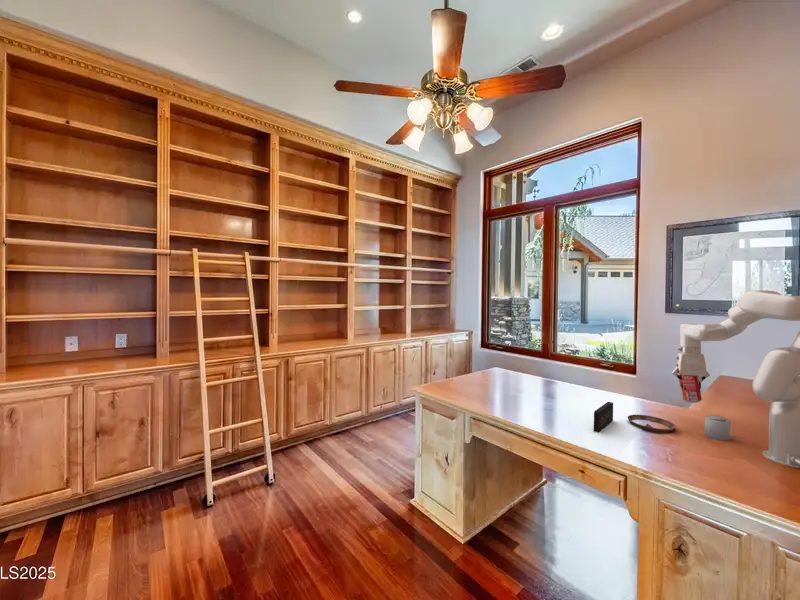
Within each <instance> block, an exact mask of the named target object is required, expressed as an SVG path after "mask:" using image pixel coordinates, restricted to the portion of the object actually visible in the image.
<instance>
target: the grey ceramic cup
mask: <svg viewBox="0 0 800 600" xmlns="http://www.w3.org/2000/svg"><path fill="white" fill-rule="evenodd" d="M731 426H732V421H731V420H730V419H728V418H726V417H724V416H720V415H712V414H711V415H705V416H704V436H705V437H706V436H707V438H709V439H712V440H716V441H717V440H718V441H724V442H728V441H729V442H730V441H731V434H732V433H731V431H732V427H731Z"/></svg>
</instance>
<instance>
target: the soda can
mask: <svg viewBox="0 0 800 600" xmlns="http://www.w3.org/2000/svg"><path fill="white" fill-rule="evenodd" d="M678 375H680V376H681V377H683V381H681V380H679V379H678V382H679V387H680V395H681V399H682V400H683V401H684V402H685V403H691V404H693V403H694V404H696V403H700V402H702V400H703V398H702V392H701V389H700V388H699V379H698V376H688V375H684V376H683V375H682V374H680V373H678ZM682 383H683V388H681V386H682V385H681V384H682ZM680 385H681V386H680ZM684 388H686V390H684Z"/></svg>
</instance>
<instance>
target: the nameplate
mask: <svg viewBox="0 0 800 600" xmlns="http://www.w3.org/2000/svg"><path fill="white" fill-rule="evenodd" d="M613 421H614V403H613V402H611V401H607V402H605V403H604V404H602V405H601V406H600V407H598V408H597V409H595V410H594V412H593V432H595V433H600V432H601V431H602V430H603V429H605V428H606V427H608V426H609V425H610V424H612V423H613Z"/></svg>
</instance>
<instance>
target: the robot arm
mask: <svg viewBox="0 0 800 600" xmlns="http://www.w3.org/2000/svg"><path fill="white" fill-rule="evenodd" d="M727 316H728V317H729V318H727V319H726V320H723V321H722V322H719V323H706V324H705V323H703V324H702V323H700V324H698V323H681V324H680V325H679V346H678V347H677V346H676V351H678V353H677V357H676V362H675V363H676V364H675V368H674V369H673V371H672V372H671V374H672V375H673V376H675V377H676V378H677V379H678V381H679V380H681V381H683V377H681V376H680V375H679V373H680V374H682V375H683V376H684V375H688V376H698V379H699V388H700V390H702V383H703V381H704V380H705V379H707V378H709V377H710V373H709V372H708V371H707V366H706V365H707V364H706V359H705V355H704V353H702V342H721V341H726V340H728V339H732V338H733V337H735V336H738V335H739V334H742V333H743V332H744V331H745V330H746V329H747V328H748V326H750V325H752V324H754V323H756V322H759V321H760V320H763V319H765V318H771V319H775V320H776V319H777V320H782V321H788V322H791V321H792V322H796V321H797V322H800V295H785V294H784V295H783V294H781V292H778V291H775V290H765V289H764V290H760V289H759V290H749V291H745V292H744V293H742V294H741V295H740V296H739V297H738V299H737V304H736V305H734V306H732V307H730V308H729V309H728V311H727ZM681 385H682V386H681ZM681 385H680V384H679V387H680V386H681V388H683V383H682V384H681ZM751 386H752V387H751V388H752V391H753V392H754V394H755V396H756V397H758V398H759V399H760V400H763V401H765V402H770V404H769V415H768V419H769V420H768V450H763V451H762V456H763V458H765V459H766V460H770V461H772V462H774V463H776V464H780V465H784V466H788V467H791V468H796V469H800V330H799V331H798V332H797V333H796V336H795V338H794V340H793V341H792V342H791V345H790V346H788V347H787V346H786V347H778V348H774V349H772V350H770V351H769V352H768V353H766V354H765V355H764V357H763V359H762V361H761V363H760V365H759V367H758V369H757V371H756V373H755V374H754V377H753V379H752V384H751ZM684 390H686V388H684Z"/></svg>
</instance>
